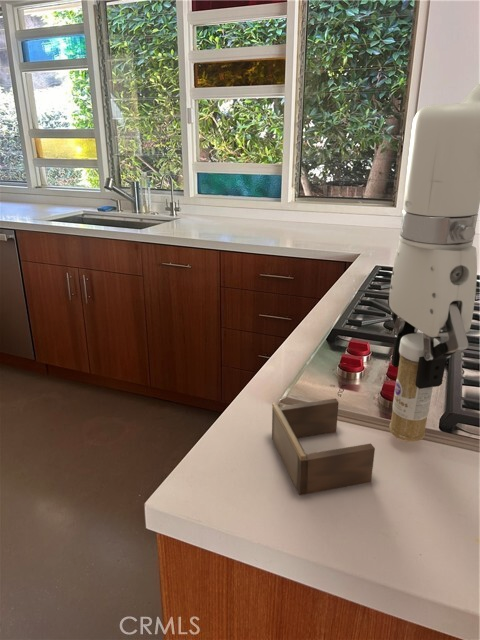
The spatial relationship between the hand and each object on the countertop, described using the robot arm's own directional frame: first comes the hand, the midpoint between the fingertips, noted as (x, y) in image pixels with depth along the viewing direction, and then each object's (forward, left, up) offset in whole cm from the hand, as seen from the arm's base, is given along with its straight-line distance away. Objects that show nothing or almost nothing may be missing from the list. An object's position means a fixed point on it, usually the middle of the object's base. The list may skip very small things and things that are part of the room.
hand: (415, 373), depth 57 cm
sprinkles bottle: (0, 0, -9) cm, 9 cm away
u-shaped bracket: (+12, 0, -11) cm, 16 cm away
